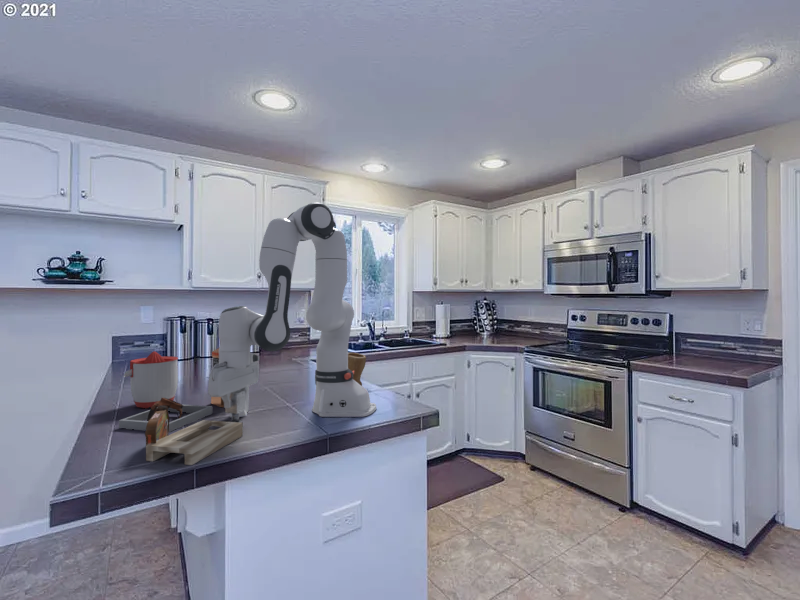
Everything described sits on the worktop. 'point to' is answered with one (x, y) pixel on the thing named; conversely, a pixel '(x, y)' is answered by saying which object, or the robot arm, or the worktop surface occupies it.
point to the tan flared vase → (356, 365)
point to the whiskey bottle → (215, 355)
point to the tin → (157, 427)
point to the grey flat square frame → (197, 413)
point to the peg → (236, 405)
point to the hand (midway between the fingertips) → (235, 404)
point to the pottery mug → (165, 407)
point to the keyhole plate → (196, 441)
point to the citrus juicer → (153, 379)
